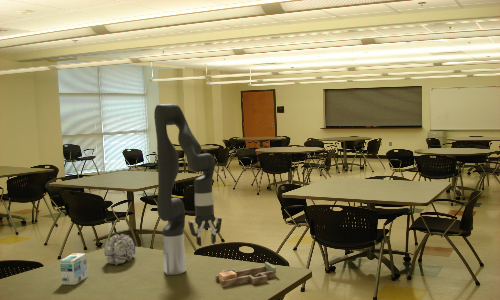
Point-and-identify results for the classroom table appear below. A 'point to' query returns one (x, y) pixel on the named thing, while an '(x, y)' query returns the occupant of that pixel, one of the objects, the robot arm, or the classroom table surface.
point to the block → (227, 275)
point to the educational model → (119, 249)
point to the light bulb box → (73, 268)
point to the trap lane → (250, 275)
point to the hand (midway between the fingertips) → (206, 244)
